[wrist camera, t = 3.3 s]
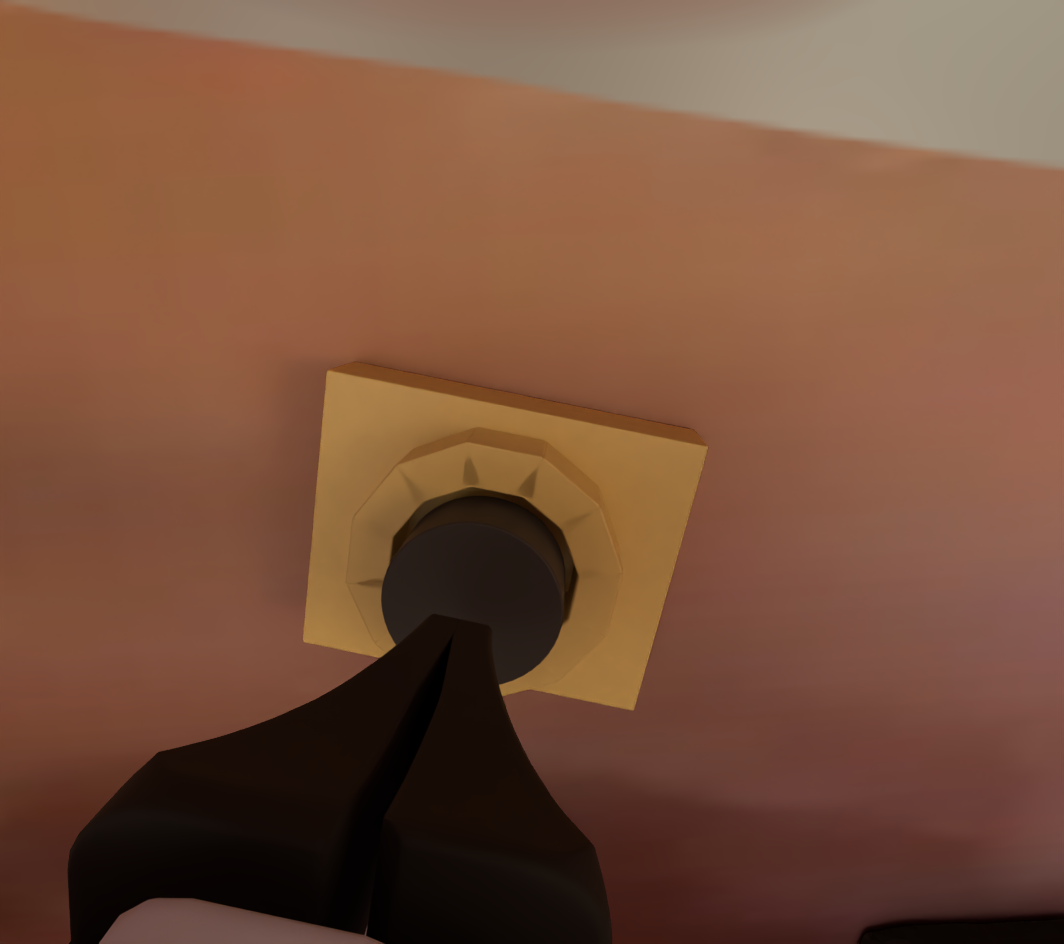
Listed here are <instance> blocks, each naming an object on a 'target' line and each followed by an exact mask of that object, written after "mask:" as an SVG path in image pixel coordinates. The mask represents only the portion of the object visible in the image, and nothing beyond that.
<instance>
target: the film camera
mask: <svg viewBox="0 0 1064 944" xmlns="http://www.w3.org/2000/svg"><path fill="white" fill-rule="evenodd" d="M860 944H1064V919H1054V920H1043V921H1035V922H1032V921H1031V920H1029V921H1028V922H1027V921H1026V920H1024V922H1008V923H990V924H963V923H962V922H960V923H954V924H938V925H912V926H904V927H897V928H891V929H884V930H880V931H876V932H871V933H866V934H865V935H864V936H863V937H862V940H861V942H860Z"/></svg>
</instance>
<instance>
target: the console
mask: <svg viewBox="0 0 1064 944" xmlns="http://www.w3.org/2000/svg"><path fill="white" fill-rule="evenodd" d="M707 451H708V446H707V445H706V444H705V442H704V441H703V440H702V439H701V438H700V436H699V435H698V434H697V433H696V432H695V430H692V429H687V428H682V427H677V426H672V425H667V424H662V423H657V422H652V421H647V420H642V419H638V418H633V417H628V416H623V415H618V414H613V413H608V412H603V411H598V410H593V409H588V408H583V407H578V406H573V405H568V404H563V403H558V402H553V401H548V400H543V399H538V398H533V397H528V396H523V395H518V394H513V393H508V392H503V391H498V390H493V389H488V388H483V387H478V386H473V385H468V384H463V383H458V382H453V381H448V380H443V379H438V378H434V377H429V376H424V375H419V374H414V373H409V372H404V371H399V370H394V369H389V368H384V367H379V366H374V365H369V364H364V363H359V362H351V363H348V364H345V365H342V366H339V367H336V368H333V369H329V370H327V374H326V385H325V397H324V408H323V419H322V430H321V442H320V453H319V464H318V475H317V487H316V498H315V509H314V520H313V532H312V543H311V554H310V565H309V577H308V588H307V599H306V610H305V622H304V633H303V642H306V643H311V644H316V645H320V646H325V647H330V648H335V649H340V650H344V651H349V652H354V653H359V654H364V655H368V656H373V657H378V658H381V657H382V656H383V655H384V654H386V653H387V652H388V651H389V650H391V649H392V648H393V647H394V646H396V644H395V643H394V641H393V639H392V637H391V636H390V634H389V632H388V629H387V627H386V624H385V621H384V617H383V613H382V605H381V592H382V585H383V580H384V576H385V574H386V571H387V568H388V566H389V565H390V563H391V561H392V559H393V558H394V556H395V555H396V553H397V552H398V550H399V549H400V547H401V546H402V545H403V543H404V542H405V540H406V539H407V537H408V536H409V534H410V533H411V532H412V530H413V529H414V527H415V526H416V525H417V523H418V522H419V521H420V520H421V519H422V518H423V517H424V516H425V515H426V514H427V513H429V512H430V511H431V510H433V509H434V508H436V507H438V506H439V505H441V504H443V503H446V502H448V501H451V500H453V499H457V498H461V497H468V496H490V497H497V498H501V499H505V500H508V501H511V502H513V503H515V504H518V505H520V506H522V507H523V508H525V509H527V510H528V511H530V512H531V513H533V514H534V515H535V516H537V517H538V518H539V519H540V520H541V521H542V522H543V523H544V524H545V525H546V526H547V528H548V529H549V530H550V531H551V533H552V534H553V536H554V538H555V539H556V541H557V543H558V545H559V547H560V550H561V553H562V556H563V560H564V566H565V593H564V614H563V622H562V627H561V630H560V634H559V637H558V639H557V641H556V643H555V645H554V647H553V648H552V650H551V651H550V653H549V654H548V655H547V656H546V658H545V659H544V660H543V661H542V662H541V663H540V664H539V665H538V666H536V667H535V668H534V669H533V670H532V671H530V672H528V673H527V674H525V675H524V676H522V677H520V678H518V679H515V680H513V681H510V682H507V683H504V684H500V685H499V687H500V691H501V694H502V696H505V695H508V694H512V693H516V692H520V691H524V690H528V689H531V690H536V691H541V692H546V693H551V694H555V695H560V696H565V697H570V698H575V699H579V700H584V701H589V702H594V703H599V704H603V705H608V706H613V707H618V708H623V709H627V710H634V708H635V704H636V700H637V697H638V693H639V690H640V686H641V683H642V679H643V676H644V672H645V669H646V665H647V662H648V658H649V655H650V651H651V648H652V644H653V641H654V637H655V634H656V630H657V627H658V623H659V620H660V616H661V613H662V609H663V606H664V602H665V598H666V595H667V591H668V588H669V584H670V581H671V577H672V574H673V570H674V567H675V563H676V560H677V556H678V553H679V549H680V546H681V542H682V539H683V535H684V532H685V528H686V525H687V521H688V518H689V514H690V511H691V507H692V504H693V500H694V497H695V493H696V489H697V486H698V482H699V479H700V475H701V472H702V468H703V465H704V461H705V458H706V454H707Z"/></svg>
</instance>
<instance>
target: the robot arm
mask: <svg viewBox="0 0 1064 944" xmlns="http://www.w3.org/2000/svg"><path fill="white" fill-rule="evenodd" d="M492 632H493V631H492V629H491V628H490V626H489V625H486V624H481V623H476V622H472V621H467V620H462V619H457V618H452V617H447V616H443V615H438V614H432V615H430V616H429V617H427V618H426V619H425V620H424V621H423V622H422V623H421V624H420V625H419V626H418V627H417V628H415V629H414V630H413V631H412V632H411V633H410V634H409V635H408V636H406V637H405V638H404V639H403V640H402V641H401V642H399V643H398V644H397V645H396V646H394V647H393V648H392V649H391V650H389V651H388V652H387V653H386V654H384V655H383V656H382V657H381V658H379V659H378V660H377V661H375V662H374V663H373V664H371V665H370V666H368V667H367V668H365V669H364V670H362V671H361V672H360V673H358V674H357V675H355V676H354V677H352V678H351V679H349V680H348V681H346V682H345V683H343V684H341V685H340V686H338V687H336V688H335V689H333V690H331V691H330V692H328V693H326V694H324V695H322V696H321V697H319V698H317V699H315V700H313V701H311V702H309V703H306V704H304V705H302V706H300V707H298V708H295V709H293V710H291V711H289V712H286V713H284V714H282V715H280V716H277V717H275V718H273V719H270V720H268V721H265V722H262V723H259V724H257V725H254V726H251V727H249V728H245V729H242V730H239V731H236V732H233V733H230V734H227V735H224V736H221V737H217V738H214V739H210V740H206V741H202V742H198V743H194V744H190V745H186V746H182V747H178V748H174V749H170V750H166V751H161V752H158V753H157V754H156V755H155V756H154V757H153V758H152V759H151V760H150V761H148V762H147V763H146V764H145V765H144V766H143V767H142V768H141V769H140V770H138V771H137V772H136V773H135V774H134V775H133V776H132V777H131V778H130V779H129V780H128V781H127V782H126V783H125V784H124V785H123V786H122V787H121V788H120V789H119V790H118V791H117V793H116V794H115V795H114V796H113V797H112V798H111V799H110V800H109V801H108V802H107V803H106V805H105V806H104V807H103V808H102V809H101V810H100V811H99V812H98V813H97V814H96V815H95V817H94V818H93V819H92V820H91V821H90V822H89V823H88V824H87V825H86V826H85V827H84V829H83V830H82V831H81V832H80V833H79V835H78V837H77V838H76V840H75V842H74V844H73V846H72V848H71V849H70V854H69V862H68V889H69V909H70V929H71V941H70V943H69V944H612V929H611V919H610V912H609V906H608V901H607V895H606V890H605V886H604V881H603V877H602V873H601V869H600V865H599V862H598V858H597V854H596V851H595V848H594V846H593V844H592V843H591V842H590V841H589V840H588V839H587V838H586V836H585V835H584V834H583V833H582V832H581V831H580V830H579V829H578V828H577V827H576V825H575V824H574V823H573V822H572V821H571V820H570V819H569V818H568V817H567V815H566V814H565V813H564V812H563V811H562V810H561V808H560V807H559V806H558V804H557V803H556V802H555V800H554V799H553V798H552V796H551V795H550V793H549V792H548V790H547V788H546V787H545V785H544V784H543V782H542V781H541V779H540V777H539V776H538V774H537V773H536V771H535V769H534V768H533V766H532V765H531V763H530V761H529V759H528V757H527V755H526V753H525V751H524V749H523V747H522V746H521V743H520V741H519V739H518V737H517V735H516V732H515V730H514V728H513V725H512V723H511V720H510V718H509V715H508V712H507V709H506V706H505V704H504V701H503V697H502V694H501V691H500V687H499V683H498V679H497V675H496V671H495V666H494V660H493V653H492Z"/></svg>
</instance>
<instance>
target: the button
mask: <svg viewBox="0 0 1064 944" xmlns="http://www.w3.org/2000/svg"><path fill="white" fill-rule="evenodd" d="M564 593H565V566H564V560H563V556H562V553H561V550H560V547H559V545H558V543H557V541H556V539H555V538H554V536H553V534H552V533H551V531H550V530H549V529H548V528H547V526H546V525H545V524H544V523H543V522H542V521H541V520H540V519H539V518H538V517H537V516H535V515H534V514H533V513H531V512H530V511H528V510H527V509H525V508H523V507H522V506H520V505H518V504H515V503H513V502H511V501H508V500H505V499H501V498H497V497H490V496H468V497H461V498H457V499H453V500H451V501H448V502H446V503H443V504H441V505H439V506H438V507H436V508H434V509H433V510H431V511H430V512H429V513H427V514H426V515H425V516H424V517H423V518H422V519H421V520H420V521H419V522H418V523H417V525H416V526H415V527H414V529H413V530H412V532H411V533H410V534H409V536H408V537H407V539H406V540H405V542H404V543H403V545H402V546H401V547H400V549H399V550H398V552H397V553H396V555H395V556H394V558H393V559H392V561H391V563H390V565H389V566H388V568H387V571H386V574H385V576H384V580H383V585H382V592H381V605H382V613H383V617H384V621H385V624H386V627H387V629H388V632H389V634H390V636H391V637H392V639H393V641H394V643H395V644H396V645H397V644H398V643H399V642H401V641H402V640H403V639H404V638H405V637H406V636H408V635H409V634H410V633H411V632H412V631H413V630H414V629H415V628H417V627H418V626H419V625H420V624H421V623H422V622H423V621H424V620H425V619H426V618H427V617H429V616H430V615H432V614H438V615H443V616H447V617H452V618H457V619H462V620H467V621H472V622H476V623H481V624H486V625H489V626H490V628H491V629H492V631H493V632H492V653H493V660H494V666H495V671H496V675H497V679H498V683H499V685H500V684H504V683H507V682H510V681H513V680H515V679H518V678H520V677H522V676H524V675H525V674H527V673H528V672H530V671H532V670H533V669H534V668H535V667H536V666H538V665H539V664H540V663H541V662H542V661H543V660H544V659H545V658H546V656H547V655H548V654H549V653H550V651H551V650H552V648H553V647H554V645H555V643H556V641H557V639H558V637H559V634H560V630H561V627H562V622H563V614H564Z"/></svg>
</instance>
